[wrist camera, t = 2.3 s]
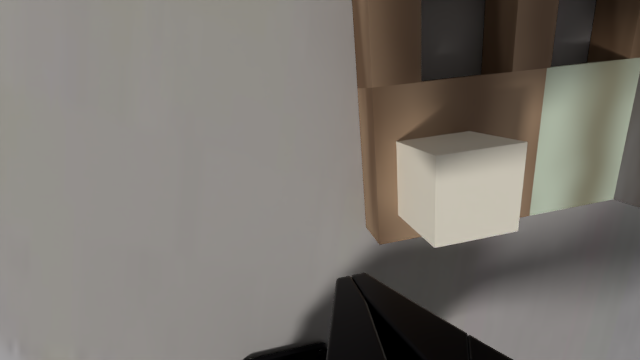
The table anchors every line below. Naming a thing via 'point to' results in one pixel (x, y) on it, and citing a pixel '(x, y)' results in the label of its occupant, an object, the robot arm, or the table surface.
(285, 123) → the table surface
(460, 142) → the block
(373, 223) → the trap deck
